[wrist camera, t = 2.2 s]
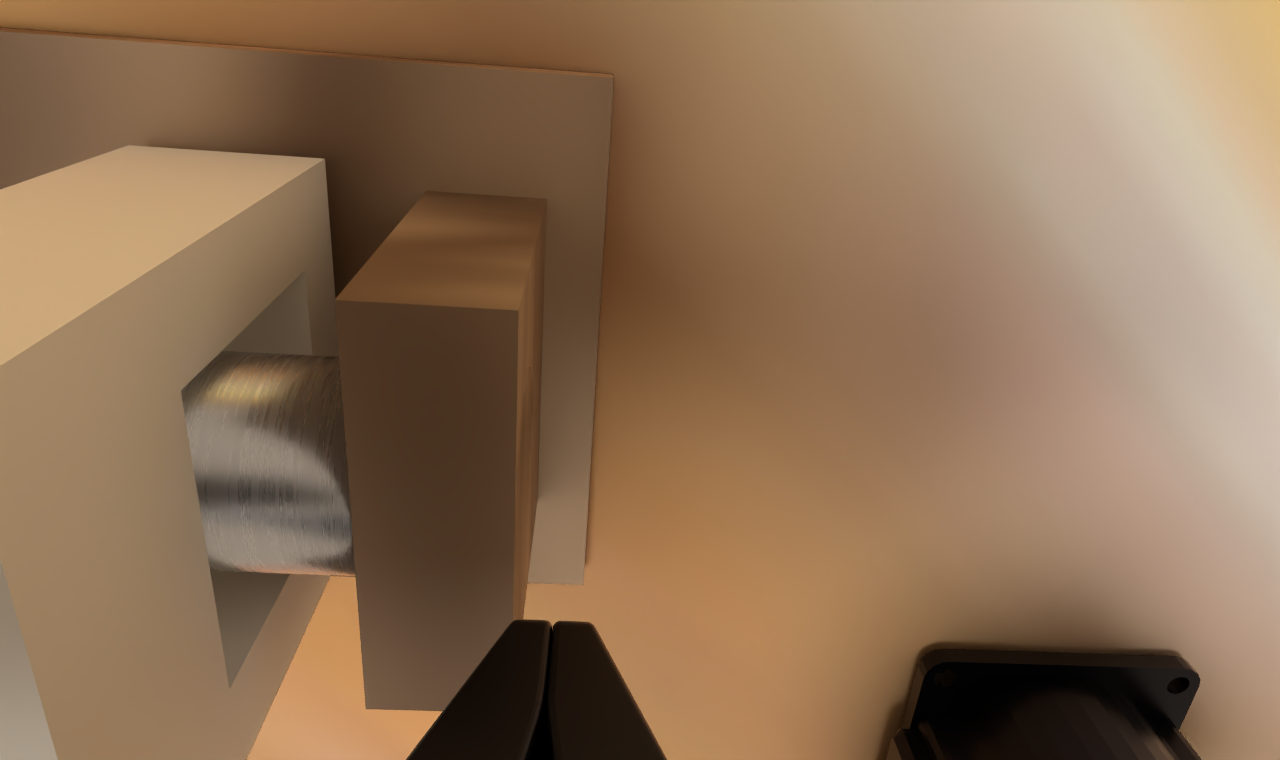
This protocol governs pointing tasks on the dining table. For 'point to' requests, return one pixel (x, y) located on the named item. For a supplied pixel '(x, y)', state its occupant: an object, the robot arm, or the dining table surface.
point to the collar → (142, 446)
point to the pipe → (271, 463)
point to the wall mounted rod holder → (400, 297)
